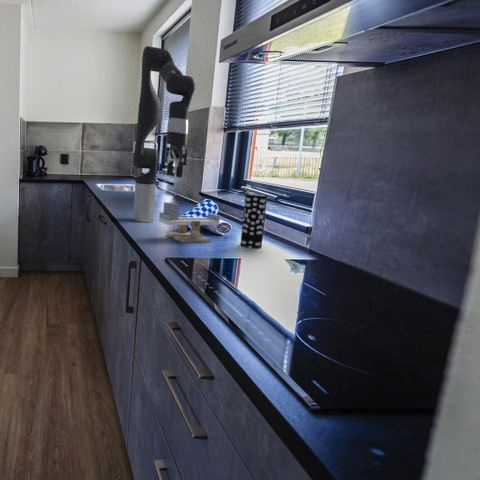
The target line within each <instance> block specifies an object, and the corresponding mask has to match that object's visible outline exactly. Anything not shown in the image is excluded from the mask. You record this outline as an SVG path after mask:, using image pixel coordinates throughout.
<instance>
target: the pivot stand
mask: <svg viewBox="0 0 480 480" xmlns="http://www.w3.org/2000/svg"><path fill="white" fill-rule="evenodd" d="M179 217H189V216H188V215H179ZM190 226H191V227H190V231H187V229H188V225H178V231H167V233H166V236H169V237H170V238H172V239H174V240H176V241H178V242H179V243H181V244H182V243H183V244H185V243H210V242H211V238H209V237H206V236H205V235H202V234H200V231H201V230H200V229H201V225H200V221H192V225H190Z"/></svg>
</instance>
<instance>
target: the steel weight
mask: <svg viewBox="0 0 480 480" xmlns="http://www.w3.org/2000/svg"><path fill="white" fill-rule="evenodd" d="M162 211H163V212H162V213H165V214H167V215H170V220H178V217H180V204H179V203H177V202H166V201H165V202H163V210H162Z"/></svg>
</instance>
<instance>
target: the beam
mask: <svg viewBox="0 0 480 480" xmlns="http://www.w3.org/2000/svg"><path fill="white" fill-rule="evenodd" d="M158 213H159V215H158V221H159V222H161V223H162V224H164V225H167V226H179V225H187V226H192V221H200V226H208V225H209V226H211V225H213V226H219V225H220V220H221V219H220V218H221V216H220V215H218V214H214V213H212V212H207V217H206V216H204V217H202V216H201V217H199V216H198V217H195V216H194V217H193V216H192V217H189V216H188V217H180V216H178V220H170V215H167V214H165V213H163V212H162V211H160V212H158Z"/></svg>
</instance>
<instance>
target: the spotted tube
mask: <svg viewBox="0 0 480 480" xmlns="http://www.w3.org/2000/svg"><path fill="white" fill-rule="evenodd" d="M244 198H245V199H244V206H243V207H244V208H243V215H242V225H241V236H240V237H241V238H240V243H239V245H240V246H241V247H244V248H251V249H260V248H262V244H263V236H264V228H265V218H266V212H267V211H266V210H267V201H268V195H264V194H259V193H251V192H250V193H245V196H244Z"/></svg>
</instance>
